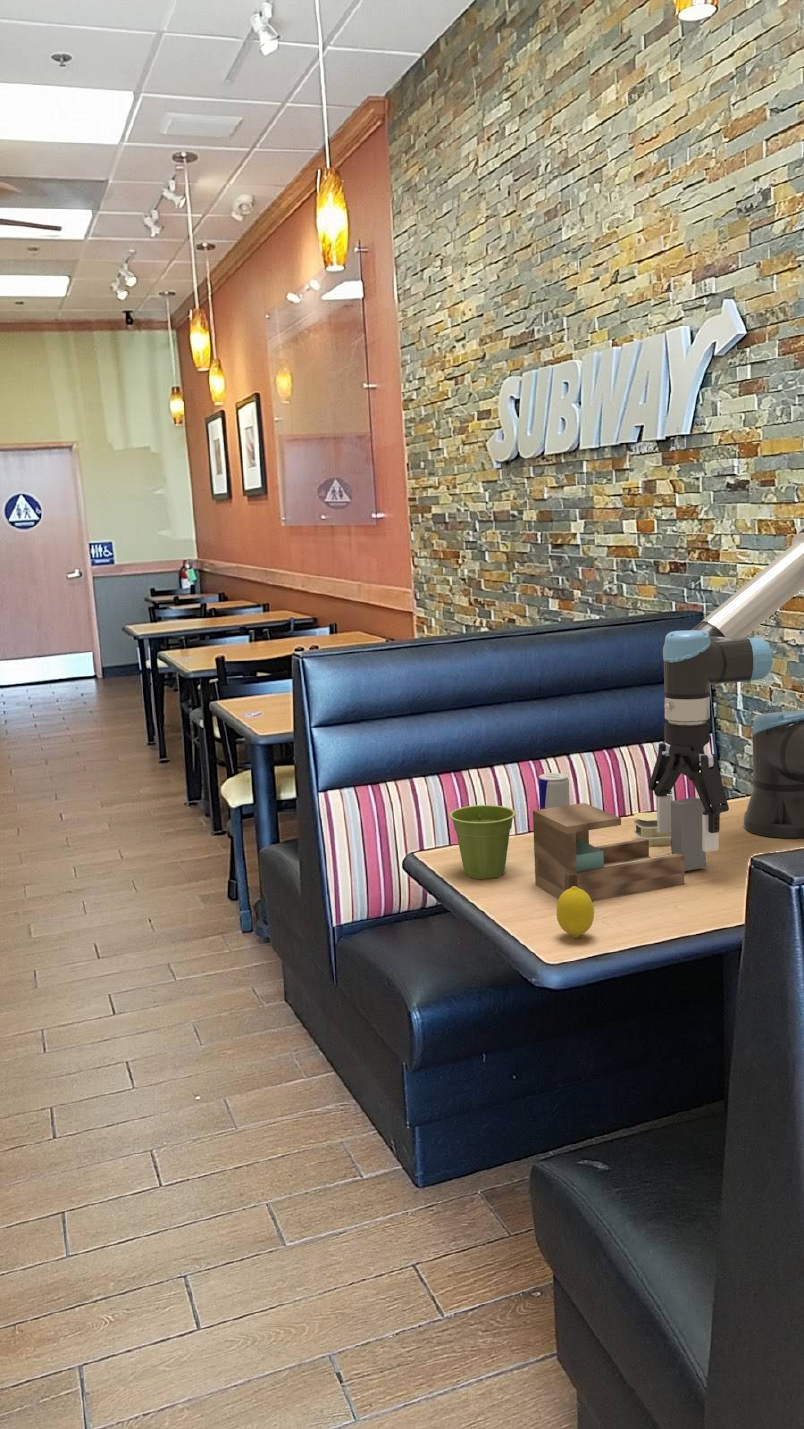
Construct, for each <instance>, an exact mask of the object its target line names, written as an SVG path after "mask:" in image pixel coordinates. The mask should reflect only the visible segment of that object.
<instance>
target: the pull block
mask: <svg viewBox="0 0 804 1429" xmlns="http://www.w3.org/2000/svg"><path fill="white" fill-rule="evenodd" d="M704 811H705V809H704V807H703V804H702V802H701V800H700V797H695V796H694V797H687V798H681V799H675V800H672V801H671V838H670V844H671V845H670V847H671V849H670V850H671V855H675V854H682V855H684V872H687V871H691V870H692V871H693V870H697V869H698V870H699V869H704V868H707V854H706V853H707V852H704V851H702V813H703V812H704ZM596 847H597V846H594V845H592V844H590V843H589V844H588V843H586V842H584V841H578V842H576V856H577V872H578V871H583V870H589V869H595V868H601V867H606V866H604V858H603V850H601V849H598V848H596ZM669 855H670V854H669ZM669 855H666V856H669ZM664 856H665V855H662V856H660V857H664ZM658 857H659V856H657V857H654V858H658ZM652 858H653V857H652ZM652 858H650V859H652ZM644 860H646V859H644ZM638 861H641V860H638ZM632 862H635V861H632ZM627 863H629V862H627ZM621 864H623V863H621ZM615 865H618V864H615ZM610 866H612V865H610Z"/></svg>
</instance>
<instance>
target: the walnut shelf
mask: <svg viewBox="0 0 804 1429" xmlns="http://www.w3.org/2000/svg"><path fill="white" fill-rule="evenodd" d="M532 825H533V827H532V828H533V849H534V852H533V853H534V855H533V856H534V877H535V878H534V879H535V881H534V882H535V886H537V887H538V888H540V889H542V890H543V891H545V892H547V893H548V894H550V895H552V896H553V897H555V898H556V899H559V897H560V895H561V894H562V893H563V892H564V891H566V890H567V889H570V888H571V887H572V886H576V887H577V888H579V889H582V890H584V891H585V892H586V893H587V894H588V895H589V896H590V898H591V900H592V902H594V901H599V900H600V901H601V900H606V899H610V898H617V897H622V896H626V895H627V896H628V895H632V894H638V893H643V892H649V891H653V890H660V889H664V888H670V887H675V886H680V885H685V871H684V855H682V854H675V855H672V854H669V856H667V855H663V856H664V857H661V856H657V857H658V858H655V857H653V856H652V857H651V856H650V847H649V840H647V839H641V838H640V839H633V840H627V841H622V842H615V843H610V844H609V843H608V844H603V845H599V846H595V847H596V848H598V849H601V850H603V858H604V866H606V867H601V868H595V869H589V870H583V871H578V872H577V856H576V842H578V841H584V842H586V843H588V844H590V836H589V834H590V833H589V832H590V831H593V830H600V829H605V828H607V829H608V828H612V827H618V826H622V817H620V816H617V815H614V814H612V813H610V812H608V811H605V810H603V809H600V808H598V807H596V806H594V805H591V804H588V803H586V802H582V803H575V804H574V803H573V804H570V805H567V806H560V807H553V808H547V809H540V808H539V809H534V810H532ZM650 858H652V859H650ZM644 859H646V860H644ZM638 860H641V861H638ZM632 861H635V862H632ZM627 862H629V863H627ZM621 863H623V864H621ZM615 864H618V865H615ZM610 865H612V866H610Z"/></svg>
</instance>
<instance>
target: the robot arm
mask: <svg viewBox="0 0 804 1429" xmlns="http://www.w3.org/2000/svg"><path fill="white" fill-rule="evenodd" d="M803 589H804V528H802V529H800V530H799V532H797V533H796V534H795V535H794V536H793V537H792V540H791V545H790V546H789V547H788V548H787V549H786V550H784V551H783V552H782V553H781V554H780V555H778V556H777V557H776V558H774V560H772V562H770V563H769V564H768V565H767V566H765V567H764V568H763V569H762V570H760V572H758V573H757V574H756V575H754V577H752V579H750V580H749V581H748V582H747V583H745V584H744V585H743V586H742V587H740V588H739V589H738V590H736V592H734V593H733V594H732V595H731V596H730V597H729V598H727V599H726V600H725V601H724V602H723V603H722V604H720V605H719V606H718V607H717V608H716V609H715V610H713V611H712V612H711V613H709V614H708V615H707V616H706V617H704V618H703V620H701V621H700V622H699V623H698V624H697V625H695V626H694V627H693V628H691V630H688V629H687V630H675V631H670V632H668V633H667V634H666V635H665V639H664V644H663V648H662V658H663V673H664V674H663V679H664V683H663V686H664V705H663V706H664V719H665V720H666V721H665V723H664V728H663V729H664V730H663V734H664V742H663V743H662V742H661V743H659V744H658V751H657V757H656V761H655V764H654V766H653V770H652V774H651V777H650V780H649V783H648V790H650V791H653V793H654V795H655V796H656V813H657V832H658V833H663V832H670V831H671V801H673V795H672V794H673V792H672V789H673V788H674V786H675V784H676V783H677V781H678V779H679V778H680V776H681V774H682V775H683V776H685V777H687V778H688V780H689V781H691V782H692V784H693V786H694V788H695V790H696V792H697V796H698V798H699V799H700V800H701V802H702V804H703V807H704V809H705V811H704V812H703V813H702V851H704V852H706V853H707V852H712V851H719V849H720V848H719V843H720V842H719V840H720V839H719V835H720V834H719V833H720V830H721V828H720V826H721V825H720V822H721V821H720V820H721V813H726V812H728V811H729V810H730V807H729V803H728V800H727V796H726V792H725V790H724V785H723V781H722V779H721V775H720V772H719V768H718V756H717V754H716V753H708V754H706V752H705V749H704V748H705V746H706V745H708V744H709V743H710V723H709V722H708V720H709V719H711V716H710V715H711V709H710V707H711V706H710V705H711V703H710V702H711V701H710V698H711V697H710V696H711V695H710V693H711V692H710V688H711V685H712V686H713V685H717V684H731V683H732V684H733V683H743V682H745V683H746V682H747V683H750V682H753V681H754V682H755V681H757V680H758V681H759V680H762V679H765V678H766V677H767V676H768V675H769V674H770V672H771V671H772V667H773V655H774V654H773V652H772V651H773V650H772V649H771V647H770V644H769V643H768V642H767V641H766V640H765V639H763V638H761V637H748V635H749V634H751V633H752V632H753V631H755V630H756V629H757V628H758V627H759V626H760V625H761V624H763V623H764V622H765V621H766V620H767V619H769V618H770V617H771V616H772V615H773V614H774V613H776V612H777V610H779V609H780V608H782V607H783V606H784V605H785V604H786V603H788V602H789V601H790V600H791V599H792V598H794V597H795V596H796V595H797V594H799V592H800V591H802V590H803ZM752 726H753V727H752V732H751V737H752V767H753V768H752V777H753V778H752V780H753V781H752V786H753V787H752V791H751V794H750V798H749V801H748V804H747V808H746V811H745V812H744V816H743V827H744V829H745V830H746V831H748V832H750V833H753V834H756V835H759V836H766V837H771V838H785V839H786V838H787V839H788V838H789V839H792V838H793V839H795V838H796V839H798V838H804V710H788V711H785V710H784V711H777V712H775V711H774V712H767V713H762V714H759V715H757V716H756V717H755V718H754V720H753V725H752Z"/></svg>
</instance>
